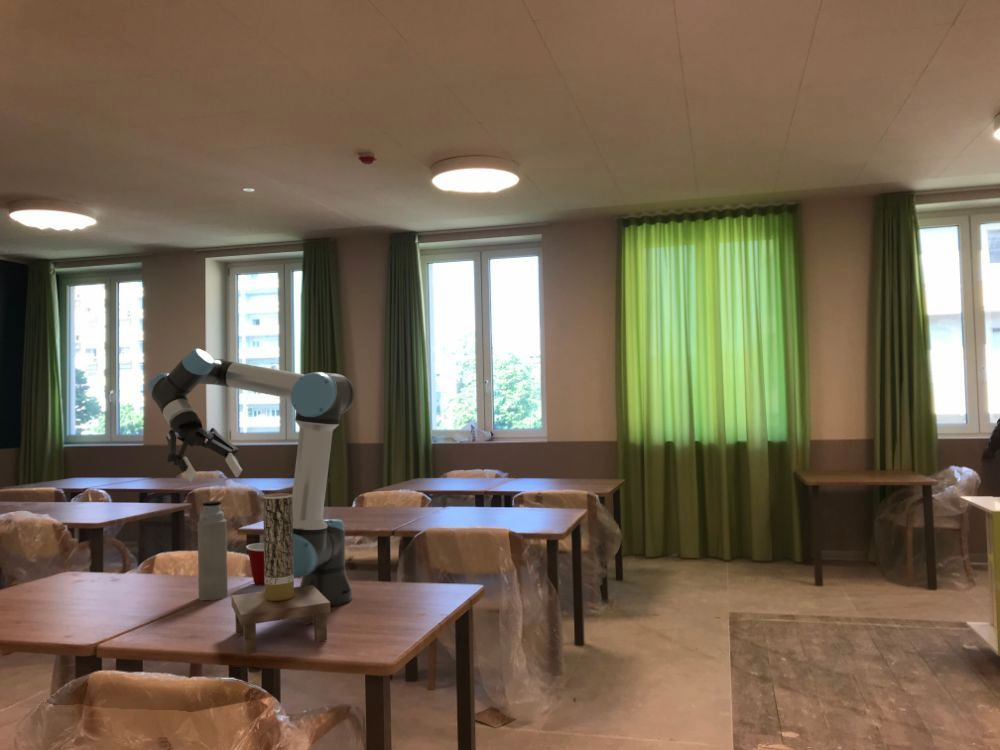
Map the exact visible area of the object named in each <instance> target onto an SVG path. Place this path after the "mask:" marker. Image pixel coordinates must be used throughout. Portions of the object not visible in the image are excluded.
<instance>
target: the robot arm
mask: <svg viewBox="0 0 1000 750" xmlns="http://www.w3.org/2000/svg"><path fill="white" fill-rule="evenodd" d="M198 385H213V386H214V385H215V386H221V387H227V388H233V389H238V390H243V391H248V392H249V391H250V392H252V393H253V392H254V393H257V394H258V393H259V394H264V395H269V396H274V397H280V398H286V399H290V401H291V405H292V407H293V409H294V410H295V419H294V422H295V423H296V424H297V425H298V426H299V435H298V443H297V450H296V451H297V453H296V460H295V466H294V467H295V468H294V478H293V485H292V493H291V494H292V509H293V565H294V578H300V577H302V579H301V582H300V586H299V587H301V586H309V585H313V586H314V587H315V588H316V589H317V590H318V591H319V592H320V593H321V594H322V595H323V596H324V597H325V598H326V599H327V600H328V601H329V602H330V607H335V606H339V604H340V605H344V604H347V603H349V602H350V601H352V599H353V590H352V587H351V584H350V582H349V578H348V575H347V573H346V530H345V524H344V521H343V520H342V519H340V518H339V519H337V518H336V519H331V518H330V519H328V518H325V519H324V509H325V501H326V490H327V484H328V483H327V482H328V474H329V466H330V465H329V464H330V455H331V449H332V440H333V433H334V430H335V429H336V428H337V427H339V426H340V422H341V421H340V420H341V414H344V413H346V412H347V411H349V409H350V408H351V407H352V405H353V403H354V402H355V397H356V394H355V393H356V392H355V388H354V385H353V383H352V382H351V380H350V379H349V378H347V377H346V376H344V375H342V374H339V373H330V372H322V371H315V372H309V373H305V374H303V373H297V372H292V371H287V370H280V369H275V368H269V367H265V366H264V367H263V366H259V365H252V364H247V363H242V362H235V361H234V362H233V361H231V360H227V359H223V358H219V359H217V358H213V357H212V356H211V355H210V354H209V353H208V352H207V351H205V350H202V349H200V348H193V349H191V350H190V351H189V352H188V353H187V354H185V356H183V358H182V359H181V360H180V362H178V364H177V365H176V366H175V367H174V368H173V369H172V370H171V371H170V372H169V373H167V372H162V373H159V374H158V375H156V376H153V377H152V378H151V379H150V380H149V382H148V385H147V387H148V388H147V389H148V391H149V393H150V395H151V398H152V400H153V401H154V402H155V404H156V405H157V407H158V409H159V410H160V411H161V414H162V415H163V417H164V419H165V420H166V423H167V424H168V425H169V427H170V430H169V431H168V433H167V435H166V436H165V439H166V440H167V455H166V461H167V462H168V463H172V462H173V463H172V464H173V466H178V468H179V469H180V471H181V472H184V474H185V476H186V477H187V479H188V481H189V482H190V483H193V482H194V481H195V480H196V478H197V476H198V473H197V472H196V469H194V467H193V465H192V463H191V462H190V460H189V459H188V457H187V456H184V455H185V453H186V451H187V449H188V447H189V446H190V447H202V448H205V449H206V448H208V449H210V450H211V451H213V452H215V453H217V454H219V455H220V456H222V457H224V458H225V459H224V460H225V463H226V464H227V466H228V467H229V469H230V470H231V473H233V475H234V476H235V478H239V476H240V475H241V473H242V472H243V468H242V467H241V466H240V464H239V463H240V461H239V459H238V458H237V456H236V455H237V454H238V452H239V448H238V447H237V446H235V444H233V443H231V442H230V441H229V440H227V438H225V437H224V436H222V434H220V433H219V432H218V431H217V430H216V429H215V428H214V427H211V428H210V430H206V429H205V428H204V427H203V424H202V423H203V422H202V421H201V419H200V417H199V415H198V414H197V413H196V410H195V409H194V407H193V406H192V404H191V403H190V401H189V400H188V397H187V396H188V395H189V394H190V393H191V392H193V390H194V389H195V388H196V387H197V386H198ZM177 440H179V441H181V442H182V444H180V448H179V450H178V452H177V451H176V450H177V449H176V448H177ZM206 440H207V441H206ZM176 452H177V453H176ZM334 605H335V606H334Z"/></svg>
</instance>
